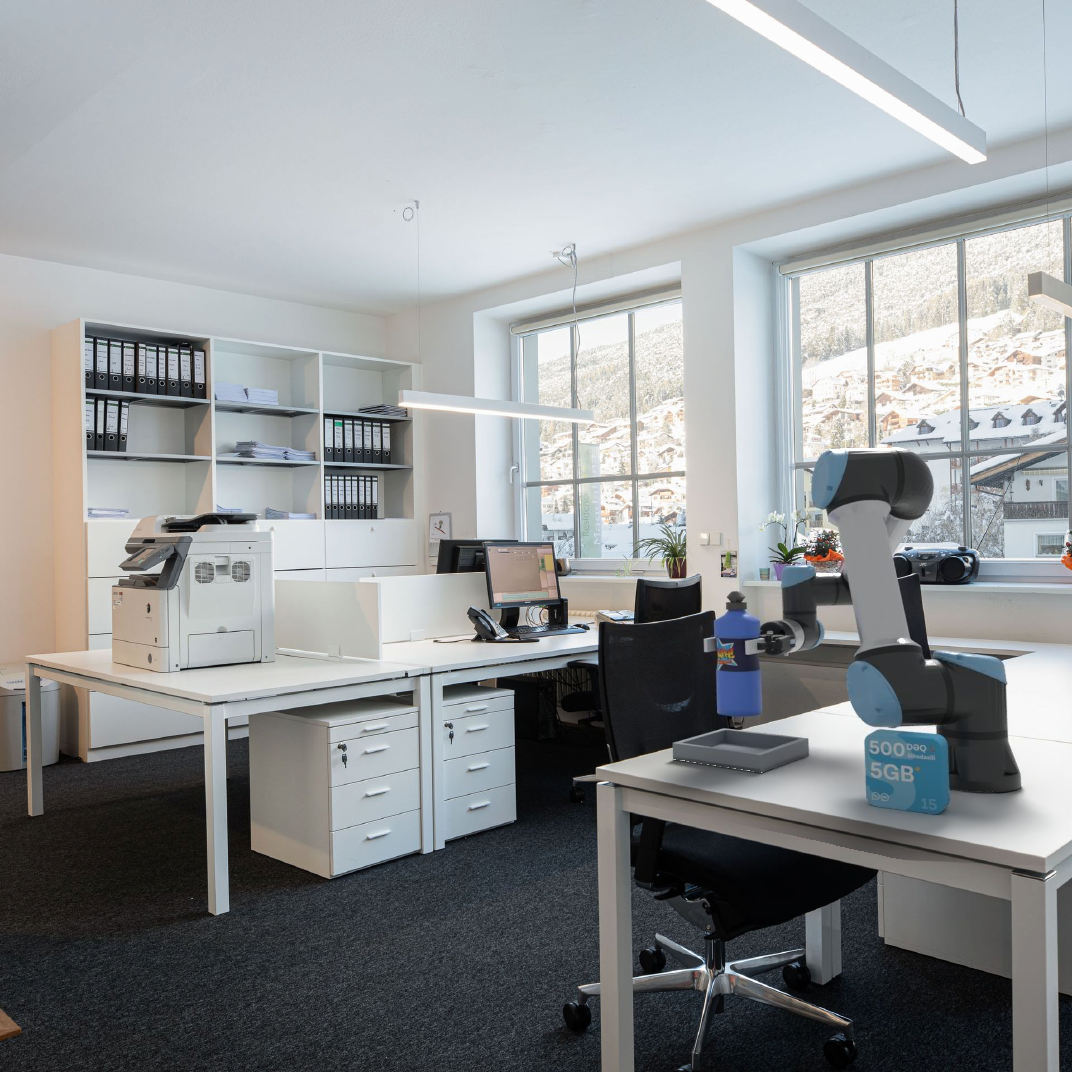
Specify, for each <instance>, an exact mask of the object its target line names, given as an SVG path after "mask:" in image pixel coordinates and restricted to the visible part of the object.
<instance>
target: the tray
mask: <svg viewBox="0 0 1072 1072" xmlns="http://www.w3.org/2000/svg"><path fill="white" fill-rule="evenodd" d="M809 741H810V740H809V738H808V737H799V736H792V735H783V734H775V733H774V734H773V733H767V732H757V731H752V730H751V731H748V730H741V729H734V728H733V729H731V728H724V727H723V728H720V729H718V730H713V731H710V732H706V733H703V734H700V735H696V736H692V737H688V738H686V739H682V740H679V741H674V742H672V760H673V759H676V760H685V761H689V762H696V763H702V764H709V765H716V766H721V767H729V768H736V769H743V770H750V771H754V772H760V773H759V774H762V773H761V772H764V773H765V771H766V772H768V771H767V770H769V771H771V770H770V769H772V770H774V769H777V768H779V766H780V767H782V766H785V765H787V764H789V763H792V762H795V761H797V760H800V759H803V758H806V757H808V756H810V749H809V748H810V746H809ZM784 764H785V765H784ZM781 765H782V766H781ZM721 767H720V768H721ZM776 767H777V768H776ZM773 768H774V769H773ZM754 772H753V773H754Z"/></svg>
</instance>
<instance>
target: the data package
mask: <svg viewBox="0 0 1072 1072" xmlns="http://www.w3.org/2000/svg"><path fill="white" fill-rule="evenodd" d="M863 744H864V769H865V771H864V772H865V773H864V774H865V796H866V800H867V802H868V803H869V804H870V805H871V806H873V807H877V808H882V807H883V809H889V808H891V810H898V811H905V812H912V813H921V814H928V815H938V814H941V813H942V812H943V811H944V810H945V809H946V808H947V806H949V805H950V800H951V799H950V796H951V795H950V789H949V767H948V744H947V741H946V739H945V738H944V737H943V736H941V735H939V734H936V733H930V732H918V731H908V730H907V731H905V730H897V729H896V730H894V729H883V728H879V729H876V730H874V731H872V732H870V733H869V734H867V735H866V736H865V738H864V741H863Z"/></svg>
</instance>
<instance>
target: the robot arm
mask: <svg viewBox="0 0 1072 1072" xmlns="http://www.w3.org/2000/svg"><path fill="white" fill-rule="evenodd" d="M933 477H934V476H933V475H932V471H931V470H930V467H929V466H928V464H927V463H926V462H925V460H924V459H923V458H922V457H921V456H919V455H918V454H917V453H915V452H913V451H911V450H910V449H906V448H903V447H877V448H876V447H874V448H873V447H870V448H869V447H868V448H866V447H864V448H863V447H862V448H861V447H860V448H857V447H856V448H847V447H843V448H835V449H834V448H832V449H828V450H825V451H823V452H822V453H821V454H820V456H819V457H818V459H817V460H816V462H815V465H814V469H813V473H812V476H811V490H810V491H811V493H810V494H811V500H812V504H813V505H814V507H815V508H816V509H819V510H822V511H824V510H825V511H826V515H827V520H828V522H829V523H830V524H832V525H833V526H835V527H837V528H838V529H837V530H838V535H839V540H840V546H841V549H842V555H843V556H842V557H843V561H844V565H845V566H844V568H843V570H842V571H841V572H817V571H816V568H815V566H814V565H804V564H803V565H786V566H784V567H783V568H782V571H781V579H780V580H781V585H780V587H781V602H782V605H781V606H782V619H778V620H771V621H767V622H764V623H763V624H762V625H761V624H760V636H759V637H760V638H759V639H754V640H748V641H745V650H746V654H747V655H750V654H755V653H758V654H761V653H763V654H765V655H767V656H769V657H770V656H771V657H776V656H777V657H778V656H781V655H783V656H785V657H787V656H789V653H794V652H795V653H796V652H800V651H801V652H802V651H808V650H811V649H814V648H815V647H818V646H819V645H820V644H821V643H822V642H823V640H824V638H825V627H824V626H823V623H822V621H820V619H818V618H817V617H818V616H817V609H818V608H817V607H826V606H827V607H831V606H852V607H853V613H854V618H855V621H856V622H855V623H856V628H857V633H858V637H859V644H860V646H859V647H858V649H857V650H856V652H855V653H854V655H853V658H854V662H852V663H851V664H850V665H849V666H848V668H847V672H846V676H845V677H846V679H847V680H846V681H845V682H846V690H847V695H848V698H849V701H850V704H851V707H852V709H853V711H854V713H855V714H856V715H857V716H858V718H859V719H860V720H861V721H862V722H863V723H864V724H866V725H868V726H870V727H873V728H888V729H897V728H899V727H901V728H902V727H924V726H927V727H929V726H935V727H936V728H935V731H936V733H935V734H939V735H941V736H943V737H944V738H945V739H946V741H947V744H948V767H949V790H954V791H962V792H971V793H1004V792H1005V793H1006V792H1007V793H1008V792H1013V791H1015V790H1016V791H1017V790H1019V789H1020V788H1021V787H1022V775H1021V771H1020V767H1019V766H1018V763H1017V761H1016V758H1015V756H1014V753H1013V750H1012V748H1011V745H1010V742H1009V725H1008V723H1009V722H1008V702H1007V701H1008V699H1007V698H1008V697H1007V686H1008V681H1007V676H1006V667H1005V664H1004V662H1003V661H1002V660H1001V659H999V658H998V657H995V656H990V655H985V654H976V653H971V652H970V653H969V652H962V651H951V650H938V649H936V650H935V651H933V654H932V659H925V657H924V654H923V649H922V646H921V645H920V644H918V643H917V642H915V641H914V640H912V639H911V636H910V631H909V626H908V622H907V617H906V611H905V609H904V604H903V599H902V593H901V590H900V589H901V588H900V584H899V581H898V576H897V572H896V571H897V570H896V566H895V561H894V557H893V555H894V553H895V552H896V551H897V549H898V547H899V546H900V544H901V542H902V541H903V539H904V537H905V536H906V534H907V532H908V531H909V529H910V528H911V525H912V524H913V523H914V522H915V521H917V520H919V519H921V518H922V517H923V516H924V514H925V513H926V511H927V510H928V508H929V507H930V504H931V502H932V500H933V497H934V496H933V495H934V489H935V487H934V484H935V483H934V478H933ZM703 652H704V653H710V652H717V645H716V638H715V636H714V634H713V635H711V637H707V638H703Z"/></svg>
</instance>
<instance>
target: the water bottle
mask: <svg viewBox="0 0 1072 1072" xmlns="http://www.w3.org/2000/svg"><path fill="white" fill-rule="evenodd" d="M726 598H727V599H728V601H726V602H725V610H727V611H726V612H725V614H723V615H722V616H719V618H716V619H715V620H713V629H714V630H713V632H714V634H713V635H714V636H715V638H716V645H717V651H716V652H717V660H716V661H717V662H716V670H715V671H716V672H715V675H716V676H715V677H716V678H715V679H716V707H717V709H716V710H717V711H716V713H717V714H718V715H721V716H727V717H755V716H760V715H762V714H763V700H762V697H763V696H762V695H763V694H762V674H761V673H762V672H761V671H762V670H761V667H760V660H759V653H755V654H750V655H747V654H746V650H745V641H748V640H754V639H759V638H760V637H759V636H760V627H761V620H760V619H759V618H757V617H754V616H752V615H750V614H749V613H748V612H747V611H746V610H748V605H747V603H748V602H747V601H744V600H745V598H746V595H745V594H744V593H742V592H741V591H740V590H735V591H734V590H733V591H732V590H731V591H730V593H728V594H727V596H726Z"/></svg>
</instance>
